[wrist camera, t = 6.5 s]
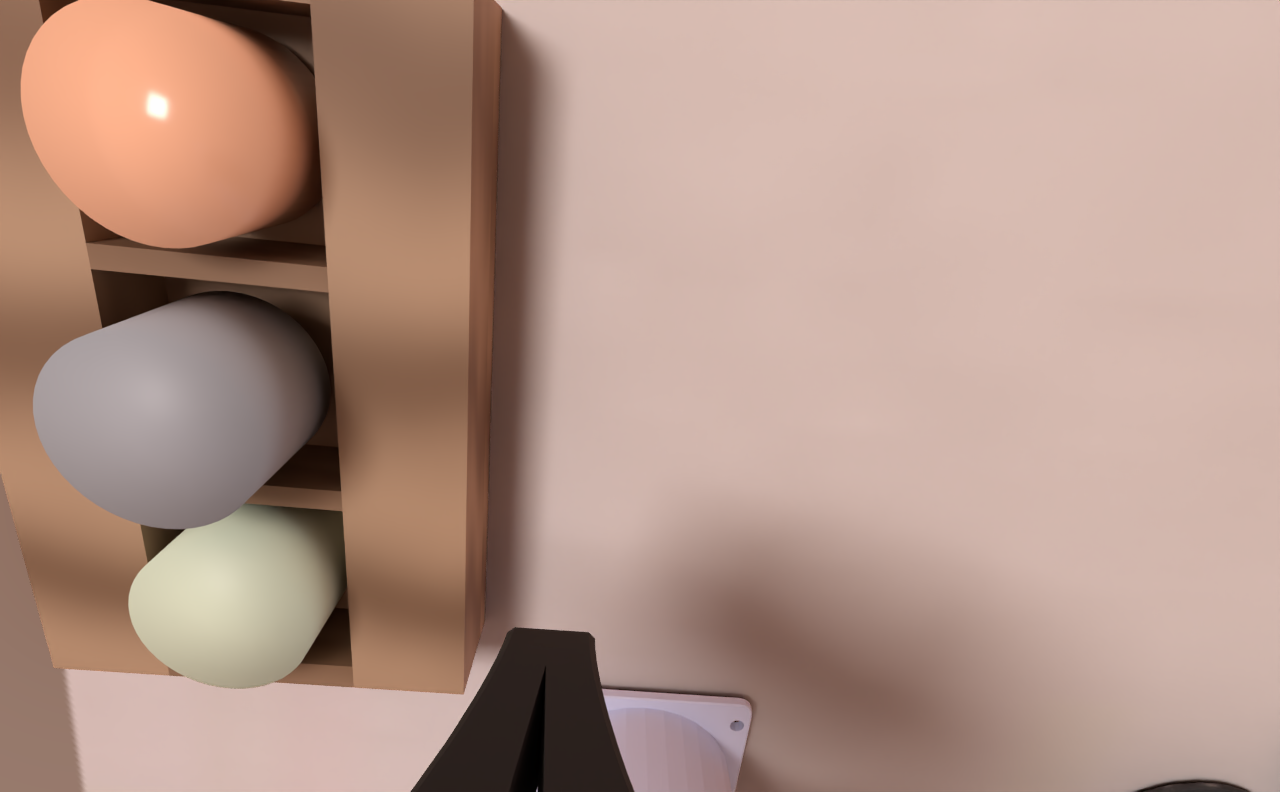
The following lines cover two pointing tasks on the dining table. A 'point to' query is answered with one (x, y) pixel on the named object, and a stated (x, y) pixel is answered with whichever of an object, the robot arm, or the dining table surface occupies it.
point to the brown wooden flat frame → (326, 309)
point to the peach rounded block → (171, 122)
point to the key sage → (242, 594)
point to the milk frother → (1197, 788)
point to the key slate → (182, 407)
